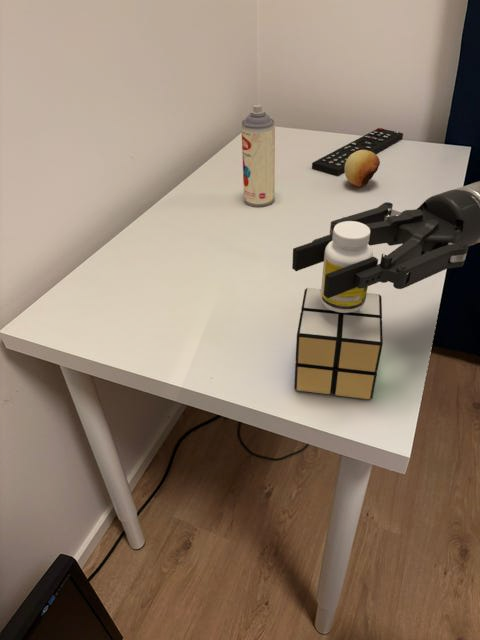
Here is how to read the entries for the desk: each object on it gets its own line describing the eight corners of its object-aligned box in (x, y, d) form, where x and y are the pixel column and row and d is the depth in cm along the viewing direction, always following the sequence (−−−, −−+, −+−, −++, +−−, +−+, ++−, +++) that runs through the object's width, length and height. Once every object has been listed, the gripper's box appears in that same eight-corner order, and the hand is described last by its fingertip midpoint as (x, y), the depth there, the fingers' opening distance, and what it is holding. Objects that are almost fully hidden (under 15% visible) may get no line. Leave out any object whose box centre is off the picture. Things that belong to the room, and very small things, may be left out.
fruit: (376, 179, 114) (381, 145, 109) (376, 194, 108) (381, 159, 103) (343, 177, 116) (347, 143, 111) (341, 192, 109) (345, 157, 104)
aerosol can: (241, 195, 110) (237, 102, 97) (270, 192, 111) (270, 99, 98) (247, 208, 105) (243, 112, 92) (277, 205, 106) (278, 109, 93)
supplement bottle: (369, 314, 57) (381, 241, 51) (323, 315, 57) (329, 242, 51) (360, 287, 61) (371, 216, 55) (317, 288, 61) (323, 218, 55)
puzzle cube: (301, 341, 71) (304, 286, 65) (371, 348, 70) (381, 292, 63) (293, 391, 64) (296, 334, 57) (371, 401, 62) (383, 343, 56)
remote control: (402, 138, 134) (404, 131, 133) (337, 176, 116) (338, 168, 115) (378, 133, 138) (379, 126, 137) (311, 168, 120) (312, 161, 119)
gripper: (413, 165, 66) (266, 209, 57) (535, 220, 53) (369, 286, 45) (403, 215, 70) (266, 262, 62) (513, 277, 58) (360, 346, 50)
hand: (310, 272), depth 54 cm, fingers closed on supplement bottle, 5 cm apart
